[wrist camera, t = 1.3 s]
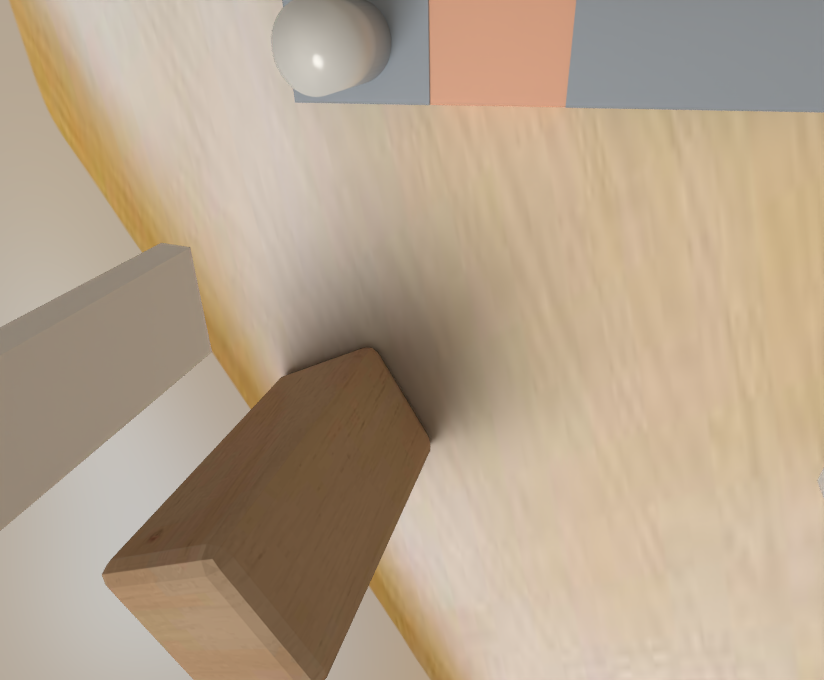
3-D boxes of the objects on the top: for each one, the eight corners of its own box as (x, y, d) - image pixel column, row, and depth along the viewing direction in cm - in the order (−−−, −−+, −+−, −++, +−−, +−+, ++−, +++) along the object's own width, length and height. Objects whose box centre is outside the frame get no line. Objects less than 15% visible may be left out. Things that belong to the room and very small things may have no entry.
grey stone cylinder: (316, -2, 29) (265, -2, 25) (389, -5, 28) (347, -5, 24) (324, 83, 31) (278, 96, 27) (393, 84, 30) (355, 97, 26)
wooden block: (279, 373, 46) (86, 576, 30) (375, 338, 41) (207, 558, 25) (341, 466, 49) (197, 695, 33) (438, 443, 44) (325, 701, 28)
